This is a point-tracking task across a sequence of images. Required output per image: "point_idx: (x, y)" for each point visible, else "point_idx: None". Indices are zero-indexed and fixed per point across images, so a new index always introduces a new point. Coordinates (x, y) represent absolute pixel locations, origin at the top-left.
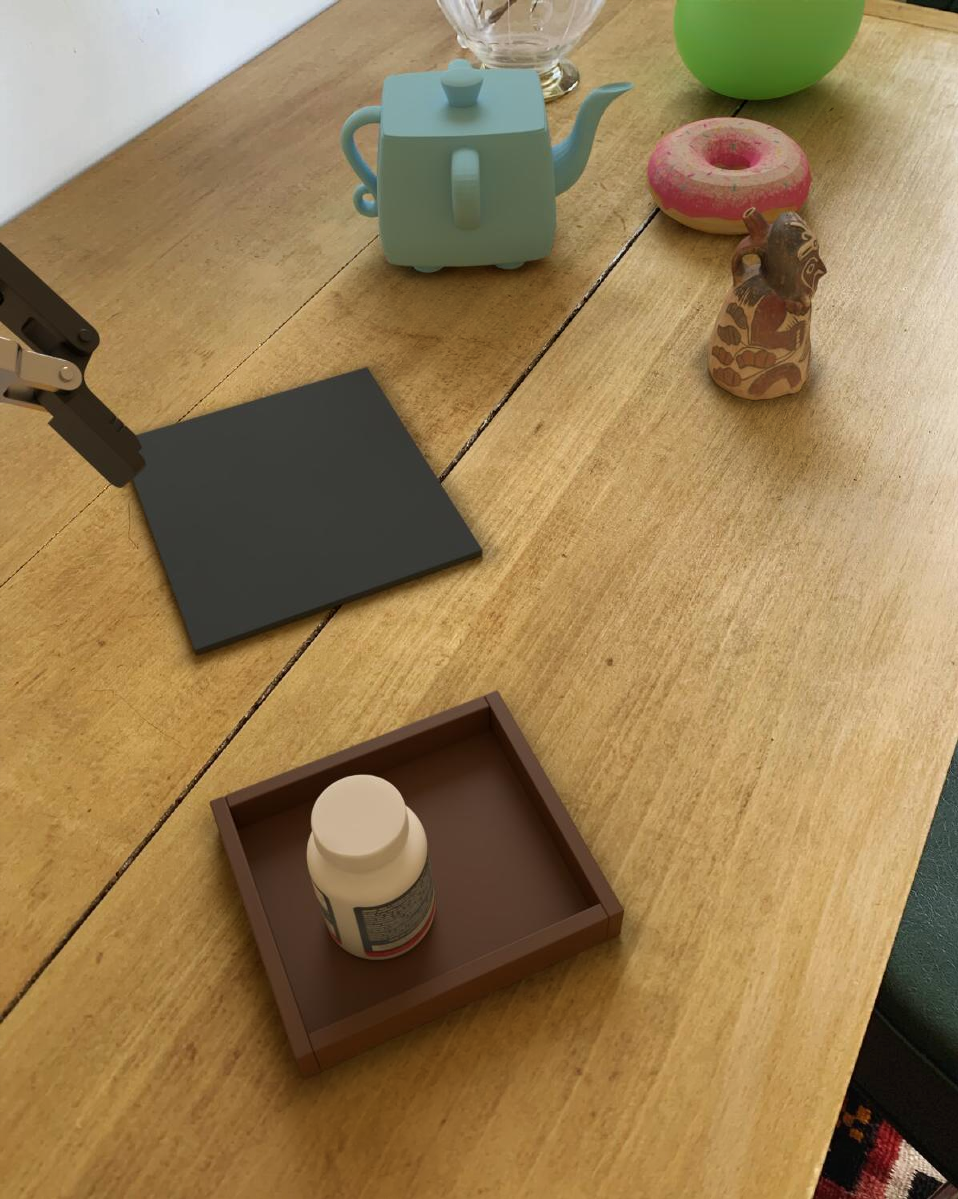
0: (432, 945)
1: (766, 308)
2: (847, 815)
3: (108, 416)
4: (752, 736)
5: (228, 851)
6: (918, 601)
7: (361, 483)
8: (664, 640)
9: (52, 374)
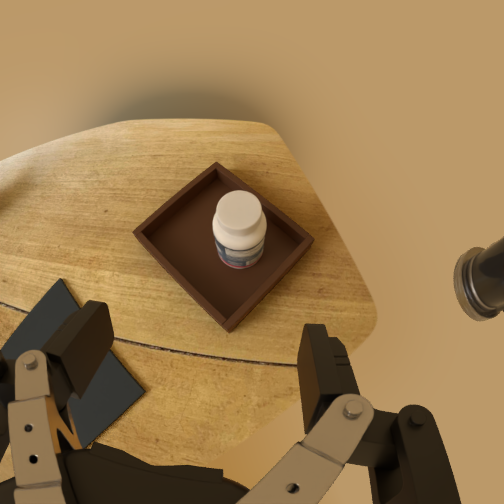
0: None
1: None
2: (156, 132)
3: (59, 333)
4: (131, 160)
5: (248, 308)
6: (77, 138)
7: (36, 348)
8: (94, 197)
9: (33, 372)
